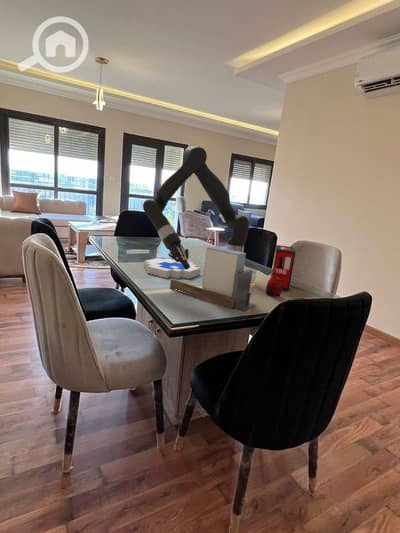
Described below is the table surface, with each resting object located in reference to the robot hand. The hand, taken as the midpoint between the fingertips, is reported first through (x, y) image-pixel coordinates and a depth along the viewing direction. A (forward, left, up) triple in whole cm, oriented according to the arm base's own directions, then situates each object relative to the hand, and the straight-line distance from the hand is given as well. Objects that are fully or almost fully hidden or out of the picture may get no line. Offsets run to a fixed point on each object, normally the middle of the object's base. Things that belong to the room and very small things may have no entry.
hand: (188, 268), depth 142 cm
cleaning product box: (-44, +28, -9) cm, 53 cm away
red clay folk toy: (-25, +32, -9) cm, 41 cm away
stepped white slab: (-18, -23, -10) cm, 31 cm away
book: (+1, +18, -9) cm, 20 cm away
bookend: (+1, +30, -9) cm, 31 cm away
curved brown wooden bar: (0, +12, -9) cm, 15 cm away
